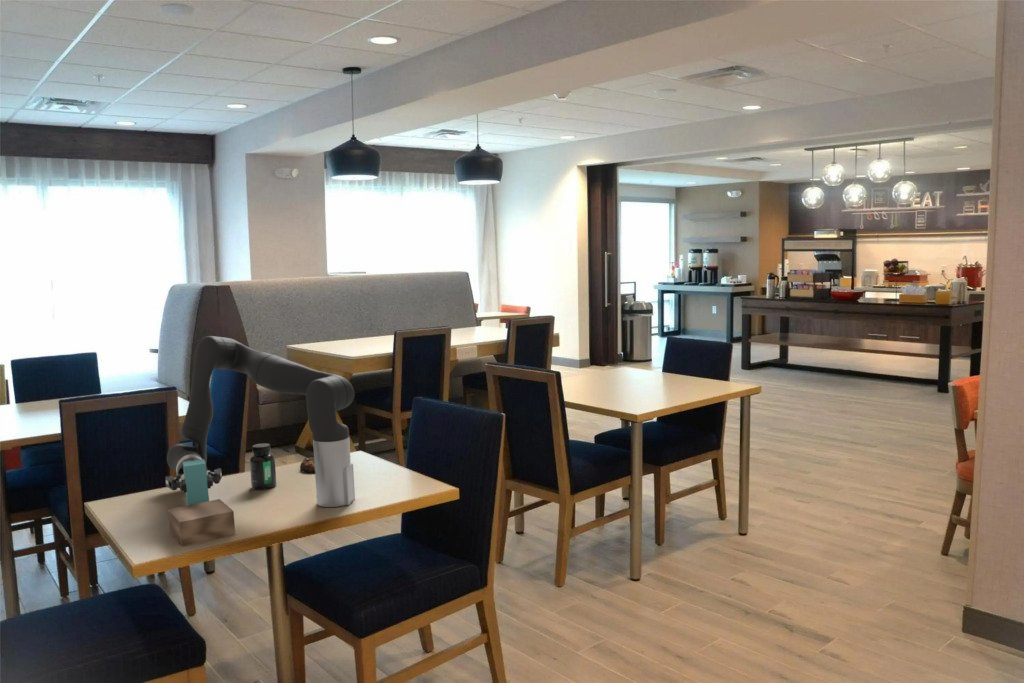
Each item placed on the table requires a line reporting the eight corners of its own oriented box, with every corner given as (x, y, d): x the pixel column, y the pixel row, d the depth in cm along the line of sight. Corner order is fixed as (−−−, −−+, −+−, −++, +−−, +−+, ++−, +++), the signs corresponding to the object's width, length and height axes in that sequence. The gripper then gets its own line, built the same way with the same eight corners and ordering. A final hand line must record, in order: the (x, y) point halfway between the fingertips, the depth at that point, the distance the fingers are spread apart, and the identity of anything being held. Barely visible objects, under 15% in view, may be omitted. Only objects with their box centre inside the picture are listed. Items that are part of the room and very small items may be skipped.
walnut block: (221, 522, 199) (219, 498, 198) (235, 535, 189) (233, 510, 189) (170, 533, 192) (168, 509, 192) (181, 547, 183) (179, 522, 182)
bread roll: (292, 472, 242) (293, 455, 242) (313, 467, 253) (314, 451, 253) (323, 476, 238) (324, 459, 238) (344, 471, 249) (345, 455, 249)
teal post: (208, 504, 206) (203, 459, 204) (209, 510, 201) (205, 463, 200) (187, 508, 204) (182, 462, 202) (188, 513, 199) (184, 466, 198)
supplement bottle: (274, 489, 225) (271, 447, 224) (249, 490, 224) (246, 448, 223) (278, 482, 232) (275, 441, 230) (253, 484, 231) (251, 443, 230)
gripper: (161, 461, 211) (164, 476, 196) (218, 453, 217) (226, 467, 202) (163, 489, 212) (167, 506, 197) (221, 480, 218) (228, 496, 203)
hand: (197, 486), depth 199 cm, fingers closed on teal post, 5 cm apart
